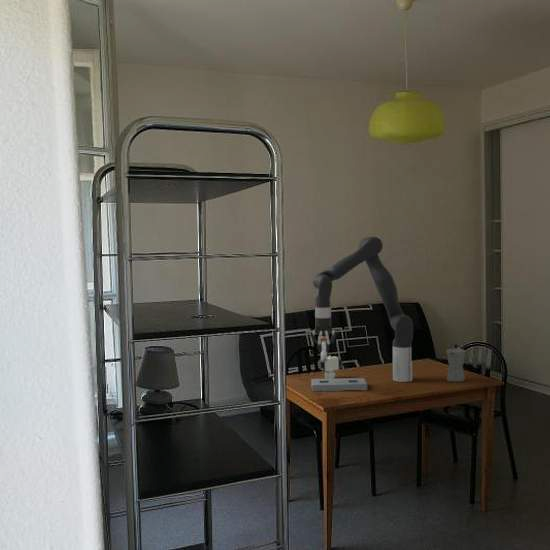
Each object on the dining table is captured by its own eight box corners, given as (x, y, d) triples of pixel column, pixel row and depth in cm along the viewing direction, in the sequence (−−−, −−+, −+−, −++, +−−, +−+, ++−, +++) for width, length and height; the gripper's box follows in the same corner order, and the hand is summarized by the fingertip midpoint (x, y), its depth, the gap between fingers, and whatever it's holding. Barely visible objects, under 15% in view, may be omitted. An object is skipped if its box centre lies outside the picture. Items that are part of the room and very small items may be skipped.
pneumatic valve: (342, 378, 320) (342, 355, 319) (321, 380, 316) (320, 357, 316) (338, 376, 325) (337, 353, 324) (317, 378, 322) (316, 355, 321)
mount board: (364, 384, 308) (364, 378, 307) (367, 390, 296) (367, 384, 295) (311, 384, 308) (311, 378, 308) (312, 391, 296) (312, 385, 296)
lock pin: (327, 360, 303) (327, 334, 302) (328, 362, 299) (327, 336, 298) (319, 360, 303) (319, 335, 302) (320, 362, 299) (319, 336, 298)
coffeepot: (461, 384, 304) (461, 347, 302) (442, 381, 309) (442, 346, 307) (470, 377, 317) (470, 342, 315) (451, 375, 322) (452, 340, 320)
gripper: (337, 314, 303) (337, 350, 304) (308, 315, 303) (308, 350, 305) (338, 317, 295) (339, 353, 297) (308, 317, 296) (309, 353, 297)
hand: (323, 351), depth 301 cm, fingers closed on lock pin, 3 cm apart
